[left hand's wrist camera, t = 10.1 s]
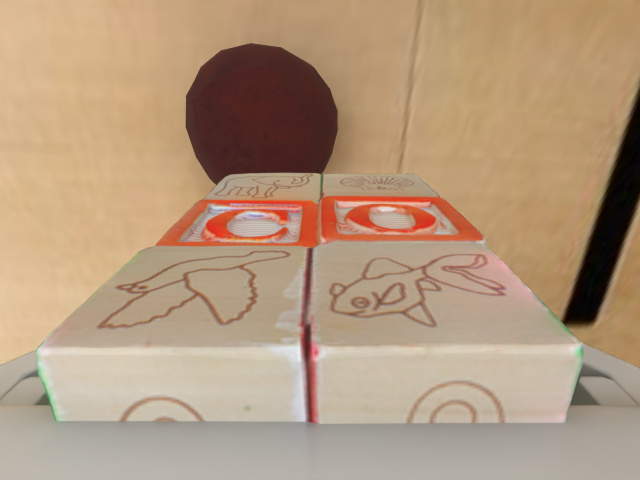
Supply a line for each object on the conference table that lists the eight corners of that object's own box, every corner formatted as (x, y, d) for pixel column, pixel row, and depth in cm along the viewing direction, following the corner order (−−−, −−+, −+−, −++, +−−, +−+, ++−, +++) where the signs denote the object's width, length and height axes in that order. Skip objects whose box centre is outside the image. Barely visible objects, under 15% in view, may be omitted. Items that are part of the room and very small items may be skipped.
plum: (249, 204, 25) (224, 245, 19) (182, 84, 23) (127, 83, 16) (356, 152, 24) (371, 177, 18) (298, 21, 22) (290, -8, 15)
